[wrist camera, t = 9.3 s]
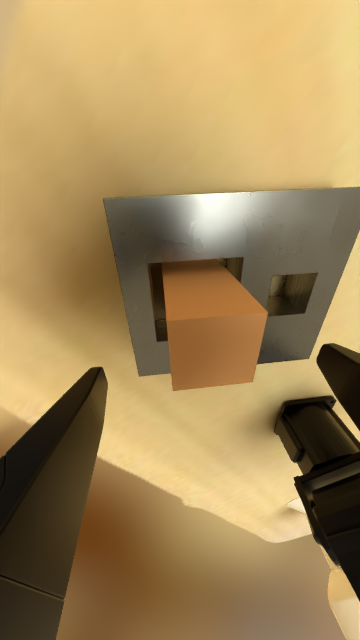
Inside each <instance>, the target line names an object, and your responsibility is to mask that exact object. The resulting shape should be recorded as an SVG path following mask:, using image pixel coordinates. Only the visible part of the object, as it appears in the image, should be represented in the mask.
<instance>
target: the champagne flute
mask: <svg viewBox="0 0 360 640" xmlns="http://www.w3.org/2000/svg"><path fill="white" fill-rule="evenodd" d="M287 506H288V507H290V508H292V509H294V510H297V511H299V512H301V513H304V514H305V515H306V511H305V509H304V506H303V504H302V501H301V499H300V498H297V499H294V500H292V501H291V502H289V503H288V505H287ZM306 517H307V515H306ZM307 519H308V518H307ZM320 547H321V549H322V551H323V553H324V556H325V558H326V560H327V562H328V564H329V566H330V568H331V570H332V571H331V574H330V576H329V583H328V601H329V605H330V607H331V609H332V611H333V613H334V615H335V617H336V619H337V622H338V624H339V626H340V628H341V630H342V632H343V634H344V636H345V638H346V640H360V602H359V600H358V598H357V596H356V594H355V592H354V590H353V588H352V586H351V584H350V583H349V581H348V579H347V577H346V575H345V573H344V572H342V571H340V570H338V568H337V566H336V565H335V564H334V563H333V561H332V560H331V559H330V557H329V556H328V554H327V552H326V551H325V549H324V548H323V547H322V546H321V545H320Z"/></svg>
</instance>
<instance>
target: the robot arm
mask: <svg viewBox="0 0 360 640" xmlns="http://www.w3.org/2000/svg"><path fill="white" fill-rule="evenodd" d="M316 361H317V365H318V367H319V368H320V370H321V372H322V374H323V375H324V377H325V379H326V381H327V382H328V384H329V386H330V387H331V389H332V391H333V393H334V394H335V396H336V398H337V399H338V401H339V402H340V404H341V405H342V406H343V408H344V409H345V411H346V412H347V414H348V415H349V416H350V418H351V419H352V421H353V422H354V424H355V425H356V426H357V428H358V429H359V431H360V353H357V352H355V351H352V350H350V349H347V348H345V347H342V346H340V345H337V344H334V343H330V344H324V345H323V346H322V347H321V349H320V352H319V354H318V356H317V360H316ZM107 388H108V383H107V379H106V376H105V373H104V370H103V368H102V367H92V368H90V369H89V370H88V371H87V372H86V373H85V374H84V375H83V376H82V377H81V378H80V379H79V380H78V381H77V382H76V383H75V384H74V385H73V386H72V387H71V388H70V389H69V390H68V391H67V392H66V393H65V394H64V395H63V396H62V397H61V398H60V399H59V400H58V401H57V402H56V403H55V404H54V405H53V406H52V407H51V408H50V409H49V410H48V411H47V412H46V413H45V414H44V415H43V416H42V417H41V418H40V419H39V420H38V421H37V422H36V423H35V424H34V425H33V426H32V427H31V428H30V429H29V430H28V431H27V432H26V433H25V434H24V435H23V436H22V437H21V438H20V439H19V440H18V441H17V442H16V443H15V444H14V445H13V446H12V447H11V448H10V449H9V450H8V451H7V452H6V455H3V456H2V457H1V458H0V640H56V636H57V632H58V627H59V622H60V618H61V614H62V609H63V605H64V598H65V595H66V591H67V586H68V582H69V577H70V573H71V568H72V564H73V559H74V555H75V550H76V546H77V541H78V537H79V533H80V528H81V524H82V519H83V515H84V510H85V505H86V501H87V497H88V492H89V488H90V483H91V479H92V475H93V470H94V466H95V460H96V457H97V452H98V448H99V443H100V439H101V434H102V430H103V424H104V416H105V407H106V397H107ZM335 403H336V399H335V398H334V397H324V398H315V399H307V400H299V401H290V402H286V403H284V404H283V407H282V409H281V412H280V415H279V418H278V421H277V423H276V426H275V429H274V432H275V434H276V435H279V437H280V439H281V441H282V443H283V445H284V447H285V449H286V451H287V453H288V455H289V457H290V459H291V461H293V462H294V463H297V464H298V466H299V468H300V470H301V472H302V473H303V475H302V476H296V477H294V480H295V484H294V485H295V487H296V489H297V491H298V494H299V496H300V499H301V501H302V504H303V506H304V509H305V511H306V515H307V518H308V521H309V524H310V528H311V531H312V534H313V537H314V539H315V541H316V542H317V543H318V544H319V545H321V546H322V547H323V548H324V549H325V551H326V552H327V554H328V556H329V557H330V559H331V560H332V561H333V563H334V564H335V565H336V566H341V568H342V569H343V571H344V573H345V575H346V577H347V579H348V581H349V583H350V584H351V586H352V588H353V590H354V592H355V594H356V596H357V598H358V600H359V602H360V442H359V441H358V440H357V439H356V437H355V436H354V435H353V434H352V432H351V431H350V430H349V429H348V428H347V426H346V425H345V424H344V423H343V422H342V420H341V419H340V418H339V417H338V415H337V414H336V413H335V412H334V411H333V409H332V408H333V406H334V404H335Z"/></svg>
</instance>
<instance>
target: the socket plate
mask: <svg viewBox="0 0 360 640" xmlns="http://www.w3.org/2000/svg"><path fill="white" fill-rule="evenodd" d="M103 202H104V206H105V211H106V216H107V221H108V226H109V231H110V236H111V241H112V246H113V251H114V256H115V261H116V266H117V271H118V275H119V280H120V285H121V290H122V295H123V300H124V305H125V310H126V315H127V320H128V325H129V330H130V335H131V339H132V344H133V349H134V354H135V359H136V364H137V369H138V374H139V376H148V375H158V374H167V373H171V365H170V354H169V343H168V333H167V322H166V319H162V320H156V311H155V302H154V294H153V285H152V276H151V268H150V263H158V262H173V261H188V260H203V259H218V258H227V267H226V269H227V270H228V271H229V272H230V273H231V274H232V275H233V276H234V277H235V278H236V279H237V280H238V281H239V283H240V284H241V285H242V286H243V287H244V288H245V289H246V290H247V291H248V292H249V293H250V294H251V295H252V296H253V297H254V298H255V299H256V300H257V301H258V302H259V303H260V304H261V306H262V307H263V308H264V309H265V310H266V311H267V312H268V315H267V320H266V324H265V329H264V333H263V338H262V342H261V347H260V352H259V356H258V361H257V364H263V363H273V362H283V361H292V360H302V359H309V357H310V355H311V352H312V350H313V347H314V345H315V342H316V340H317V337H318V334H319V332H320V329H321V327H322V324H323V322H324V319H325V317H326V314H327V312H328V309H329V306H330V304H331V301H332V299H333V296H334V294H335V291H336V289H337V286H338V284H339V281H340V278H341V276H342V273H343V271H344V268H345V266H346V263H347V261H348V258H349V256H350V253H351V250H352V248H353V245H354V243H355V240H356V238H357V235H358V233H359V230H360V187H341V188H317V189H295V190H272V191H250V192H228V193H205V194H183V195H160V196H138V197H116V198H103ZM277 275H288V276H287V280H286V284H285V288H284V292H283V296H273V297H268V295H269V291H270V286H271V281H272V276H277Z"/></svg>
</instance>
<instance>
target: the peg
mask: <svg viewBox="0 0 360 640" xmlns="http://www.w3.org/2000/svg"><path fill="white" fill-rule="evenodd" d="M161 263H162V275H163V287H164V299H165V311H166V322H167V333H168V343H169V354H170V365H171V376H172V386H173V391H176V390H185V389H194V388H203V387H213V386H222V385H231V384H240V383H249V382H253V379H254V374H255V370H256V365H257V361H258V356H259V352H260V347H261V342H262V338H263V333H264V329H265V324H266V320H267V315H268V312H267V311H266V310H265V309H264V308H263V307H262V306H261V304H260V303H259V302H258V301H257V300H256V299H255V298H254V297H253V296H252V295H251V294H250V293H249V292H248V291H247V290H246V289H245V288H244V287H243V286H242V285H241V284H240V283H239V281H238V280H237V279H236V278H235V277H234V276H233V275H232V274H231V273H230V272H229V271H228V270H227V269H226V268H225V267H224V266H223V265H222V264H221V263H220V262H219V261H218V260H217V259H203V260H188V261H173V262H161Z"/></svg>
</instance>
